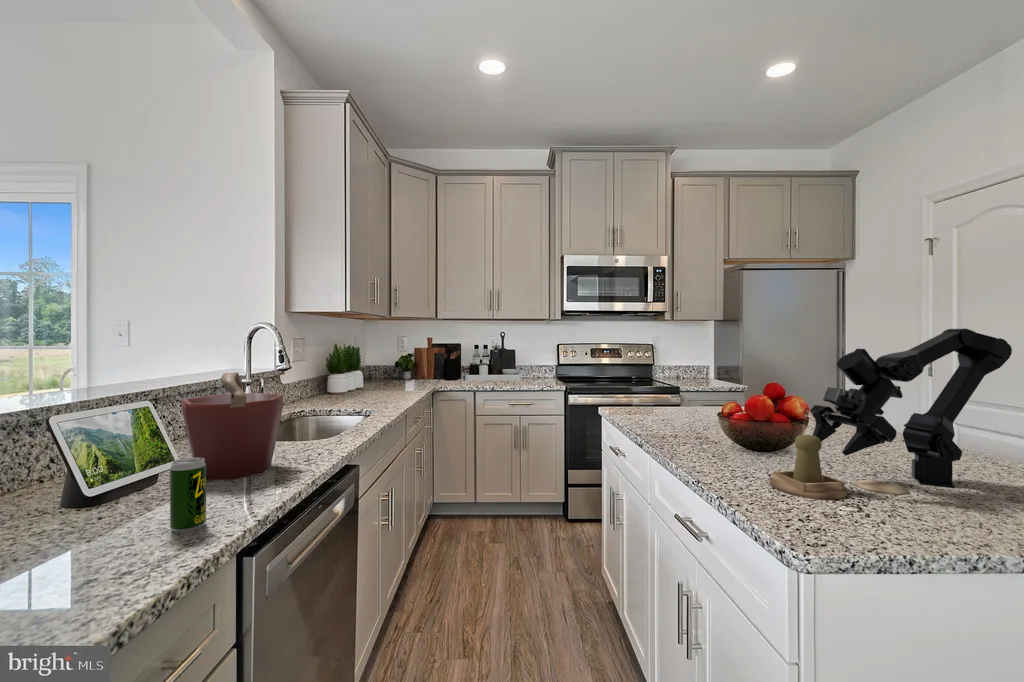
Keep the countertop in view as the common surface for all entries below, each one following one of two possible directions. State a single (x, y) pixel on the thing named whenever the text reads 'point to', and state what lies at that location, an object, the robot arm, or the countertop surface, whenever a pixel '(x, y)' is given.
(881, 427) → the robot arm
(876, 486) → the cork coaster
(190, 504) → the green soda can
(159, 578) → the countertop surface
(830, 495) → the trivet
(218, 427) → the bucket
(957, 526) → the countertop surface
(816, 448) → the pepper shaker
